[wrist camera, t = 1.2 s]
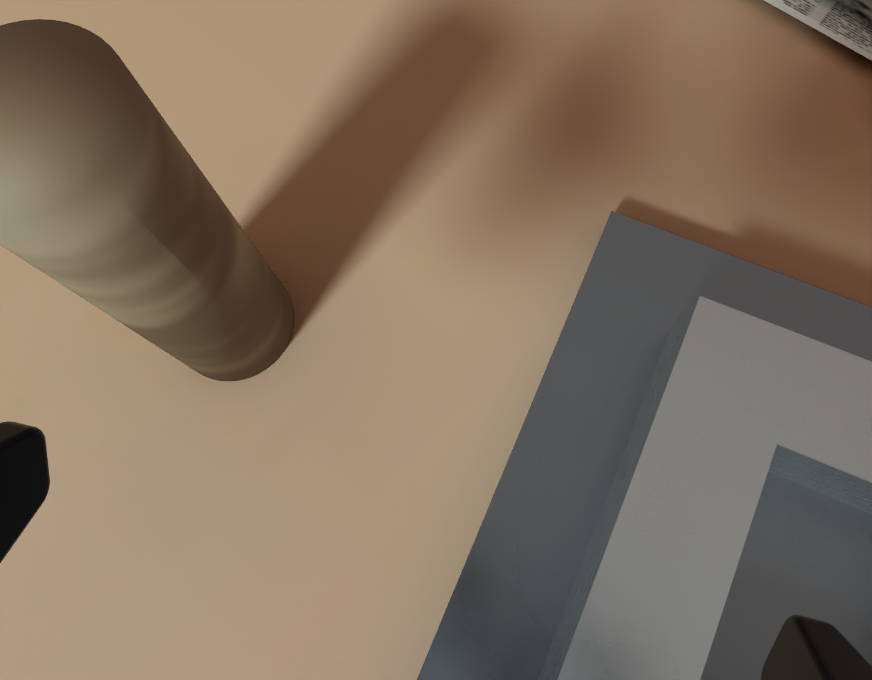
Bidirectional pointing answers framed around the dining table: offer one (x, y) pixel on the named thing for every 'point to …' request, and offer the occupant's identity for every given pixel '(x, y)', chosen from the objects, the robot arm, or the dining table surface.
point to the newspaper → (835, 20)
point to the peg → (126, 207)
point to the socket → (676, 479)
